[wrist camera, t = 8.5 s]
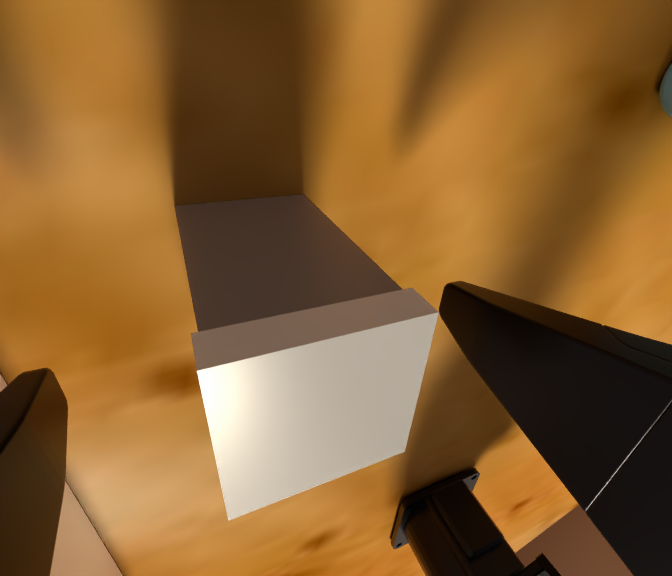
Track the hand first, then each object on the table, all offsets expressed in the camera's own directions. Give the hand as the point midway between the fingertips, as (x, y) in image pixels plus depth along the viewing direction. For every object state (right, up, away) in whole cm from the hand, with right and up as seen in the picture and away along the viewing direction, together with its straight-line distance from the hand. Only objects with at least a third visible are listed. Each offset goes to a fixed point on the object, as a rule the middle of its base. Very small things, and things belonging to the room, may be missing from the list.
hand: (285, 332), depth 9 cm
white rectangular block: (-2, +2, +3) cm, 4 cm away
